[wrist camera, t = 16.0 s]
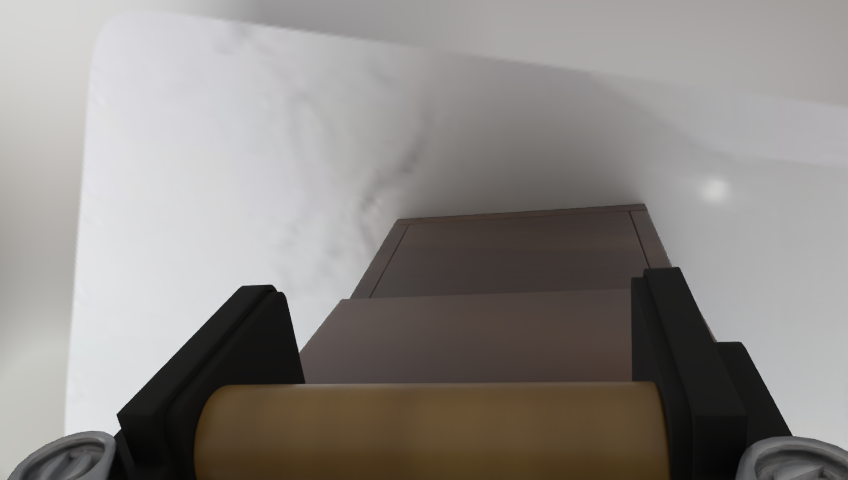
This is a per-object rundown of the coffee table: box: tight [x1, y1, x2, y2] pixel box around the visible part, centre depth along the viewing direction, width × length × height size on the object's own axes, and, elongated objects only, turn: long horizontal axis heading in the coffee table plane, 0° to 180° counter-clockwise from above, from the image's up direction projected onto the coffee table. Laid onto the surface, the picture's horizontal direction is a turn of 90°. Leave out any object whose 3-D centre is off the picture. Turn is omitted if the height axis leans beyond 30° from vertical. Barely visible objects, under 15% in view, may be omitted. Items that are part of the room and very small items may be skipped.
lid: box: [193, 289, 717, 480], centre depth 14 cm, size 16×12×5 cm
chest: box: [350, 204, 672, 299], centre depth 29 cm, size 15×12×9 cm
